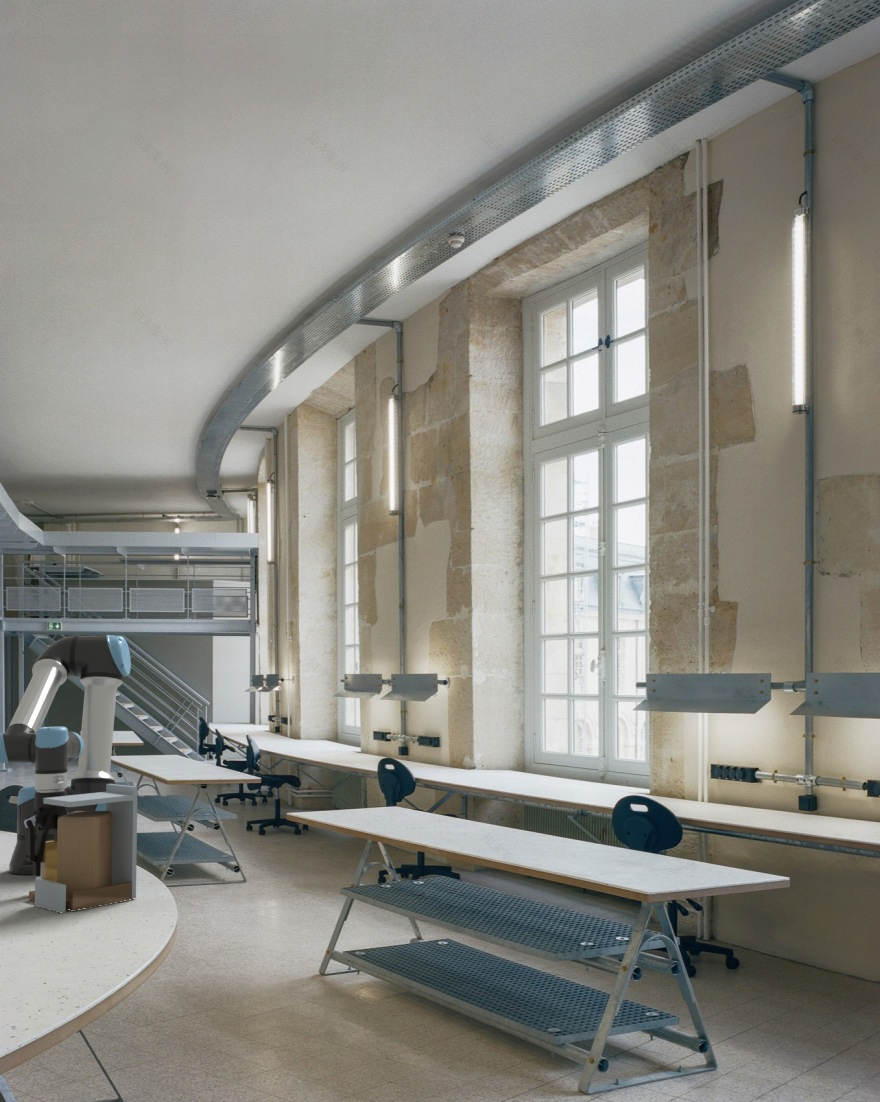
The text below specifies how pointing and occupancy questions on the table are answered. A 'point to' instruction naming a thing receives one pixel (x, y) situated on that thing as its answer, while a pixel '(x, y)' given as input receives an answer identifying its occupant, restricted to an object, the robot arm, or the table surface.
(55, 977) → the table surface
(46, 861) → the pull yoke
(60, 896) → the shelf
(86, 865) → the wooden block
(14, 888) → the table surface
